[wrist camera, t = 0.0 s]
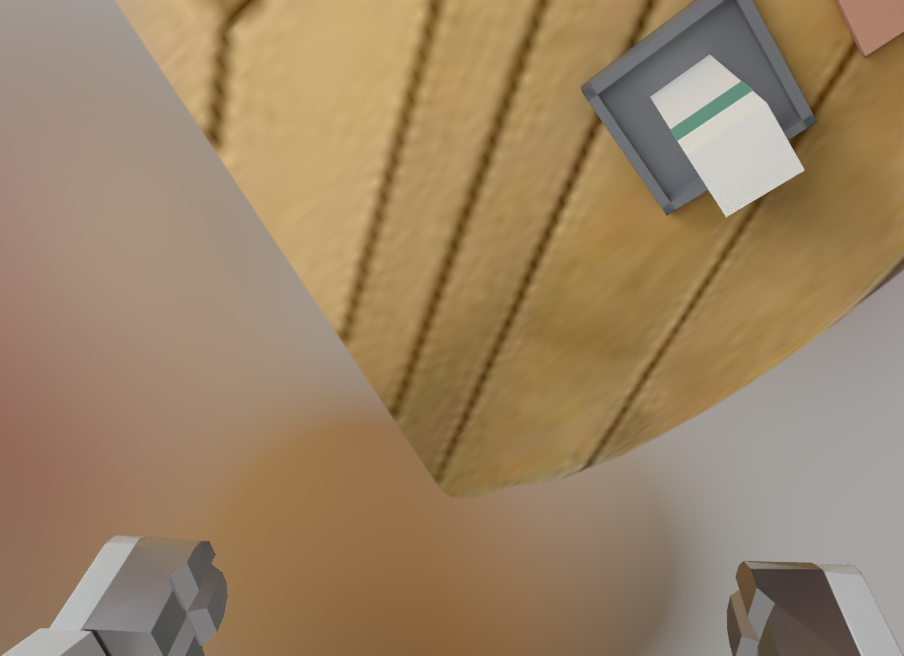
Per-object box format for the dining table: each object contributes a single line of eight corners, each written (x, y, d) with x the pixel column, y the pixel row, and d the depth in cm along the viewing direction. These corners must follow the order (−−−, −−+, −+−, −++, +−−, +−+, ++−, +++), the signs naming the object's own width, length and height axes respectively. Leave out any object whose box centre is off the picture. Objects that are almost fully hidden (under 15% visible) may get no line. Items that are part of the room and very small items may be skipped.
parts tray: (580, 86, 52) (582, 92, 50) (731, -28, 47) (739, -25, 45) (662, 206, 56) (666, 215, 55) (807, 114, 51) (817, 121, 50)
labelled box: (649, 96, 51) (685, 155, 39) (709, 53, 49) (767, 101, 37) (681, 147, 53) (725, 218, 41) (741, 108, 51) (805, 170, 39)
